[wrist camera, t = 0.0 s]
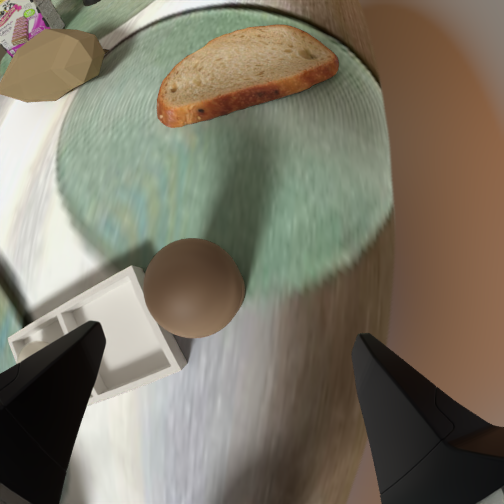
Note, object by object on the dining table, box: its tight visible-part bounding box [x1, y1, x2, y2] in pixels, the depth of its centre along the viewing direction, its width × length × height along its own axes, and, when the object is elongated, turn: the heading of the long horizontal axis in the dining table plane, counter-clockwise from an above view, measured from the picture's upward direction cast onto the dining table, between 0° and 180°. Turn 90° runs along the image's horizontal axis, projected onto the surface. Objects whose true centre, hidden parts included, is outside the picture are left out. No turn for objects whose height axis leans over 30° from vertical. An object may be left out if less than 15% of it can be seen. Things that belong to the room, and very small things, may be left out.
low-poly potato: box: [0, 29, 109, 102], centre depth 23 cm, size 15×11×12 cm
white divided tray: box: [8, 265, 187, 406], centre depth 22 cm, size 9×18×2 cm, turn 117°
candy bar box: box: [0, 0, 65, 58], centre depth 22 cm, size 11×5×16 cm, turn 95°
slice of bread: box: [157, 25, 339, 128], centre depth 26 cm, size 18×18×4 cm
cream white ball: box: [16, 341, 50, 364], centre depth 20 cm, size 6×6×6 cm
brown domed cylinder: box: [143, 238, 245, 338], centre depth 18 cm, size 5×5×12 cm
